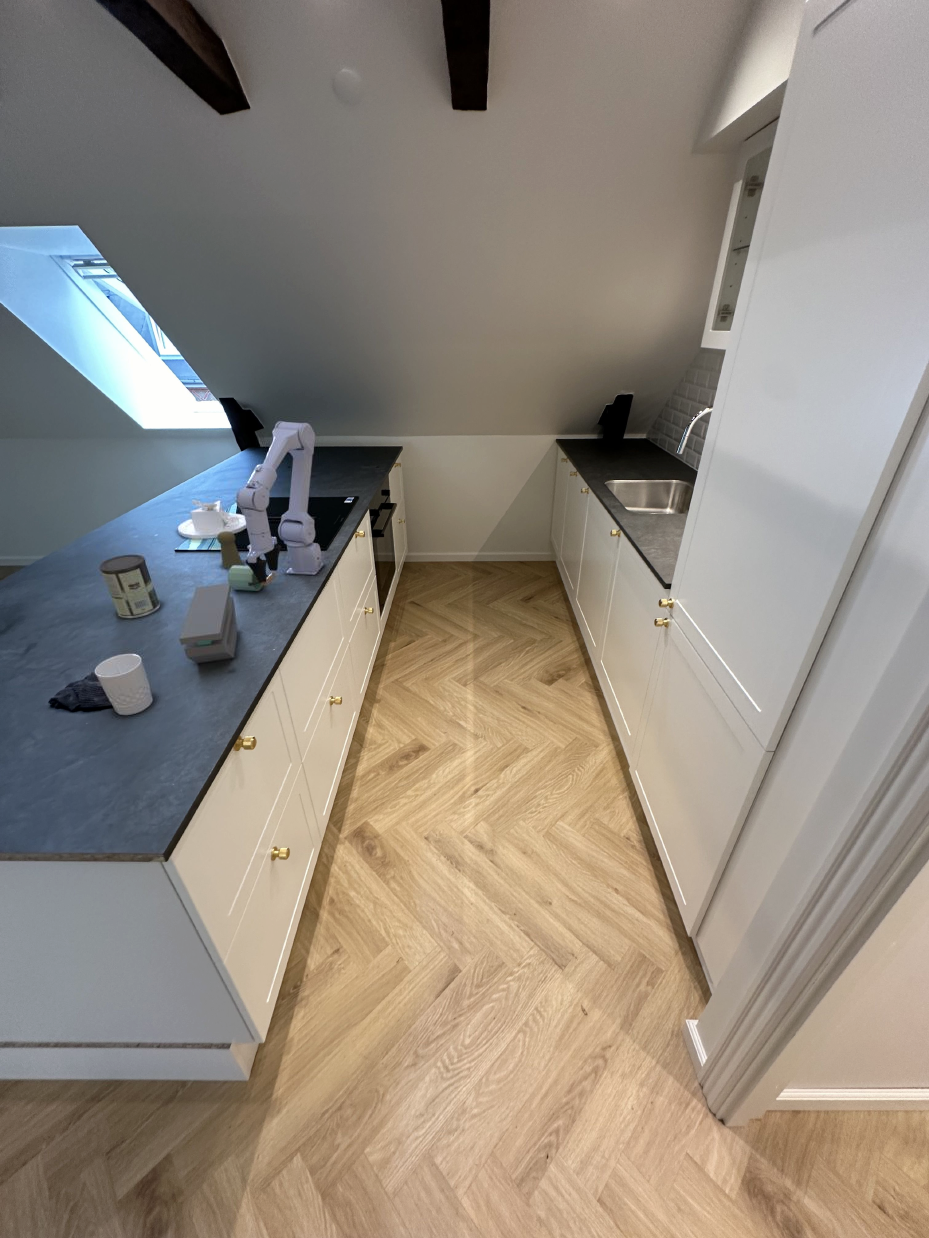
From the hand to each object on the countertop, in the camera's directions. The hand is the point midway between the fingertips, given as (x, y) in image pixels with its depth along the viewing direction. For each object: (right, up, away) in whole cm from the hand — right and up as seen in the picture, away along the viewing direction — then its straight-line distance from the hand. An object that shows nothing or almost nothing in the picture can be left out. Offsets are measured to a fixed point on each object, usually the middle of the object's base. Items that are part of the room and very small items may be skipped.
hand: (268, 575), depth 148 cm
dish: (-39, +23, +48) cm, 66 cm away
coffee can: (-32, -10, -8) cm, 35 cm away
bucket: (-10, 0, +1) cm, 11 cm away
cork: (-18, +5, +18) cm, 26 cm away
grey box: (-3, -20, -24) cm, 31 cm away
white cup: (-11, -30, -43) cm, 53 cm away
